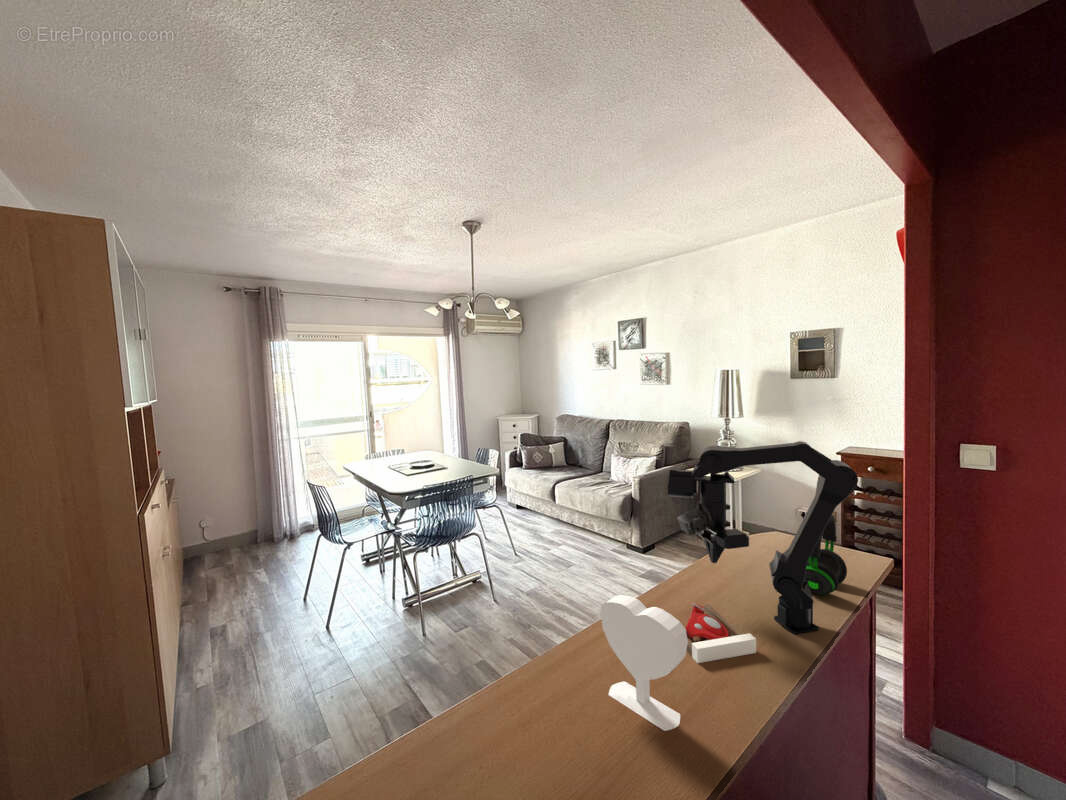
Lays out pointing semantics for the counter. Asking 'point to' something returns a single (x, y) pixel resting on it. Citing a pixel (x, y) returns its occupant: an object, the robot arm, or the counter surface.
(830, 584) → the headphones
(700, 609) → the tracker holder
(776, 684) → the counter surface
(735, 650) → the guide channel
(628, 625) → the heart sculpture
